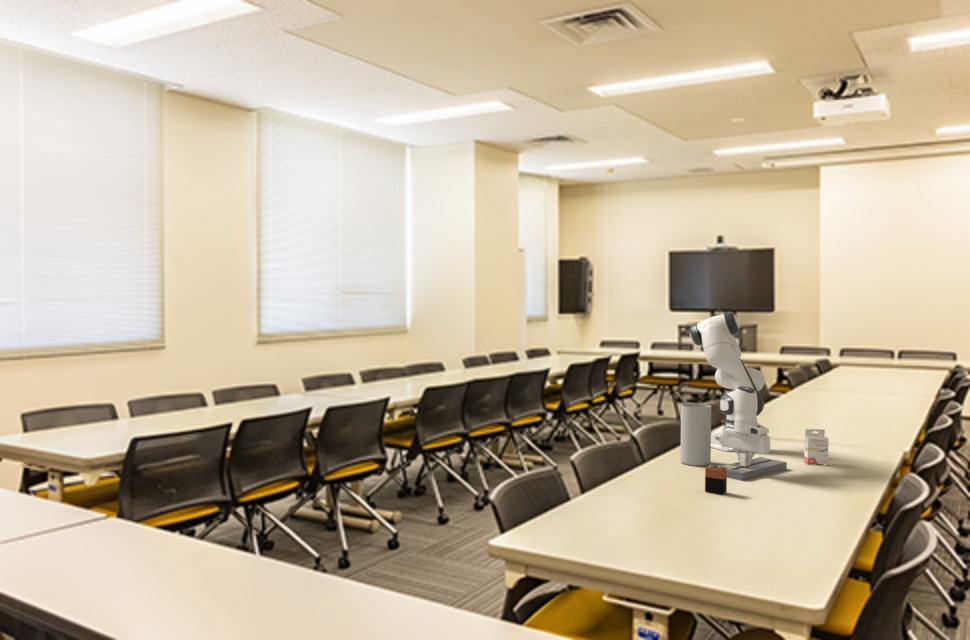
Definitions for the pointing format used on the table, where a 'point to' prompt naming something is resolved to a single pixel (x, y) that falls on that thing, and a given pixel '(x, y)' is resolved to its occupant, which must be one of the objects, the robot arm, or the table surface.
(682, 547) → the table surface
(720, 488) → the battery
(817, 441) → the ink cartridge box
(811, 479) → the table surface
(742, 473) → the console
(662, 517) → the table surface
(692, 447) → the cylinder vase
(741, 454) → the fader
